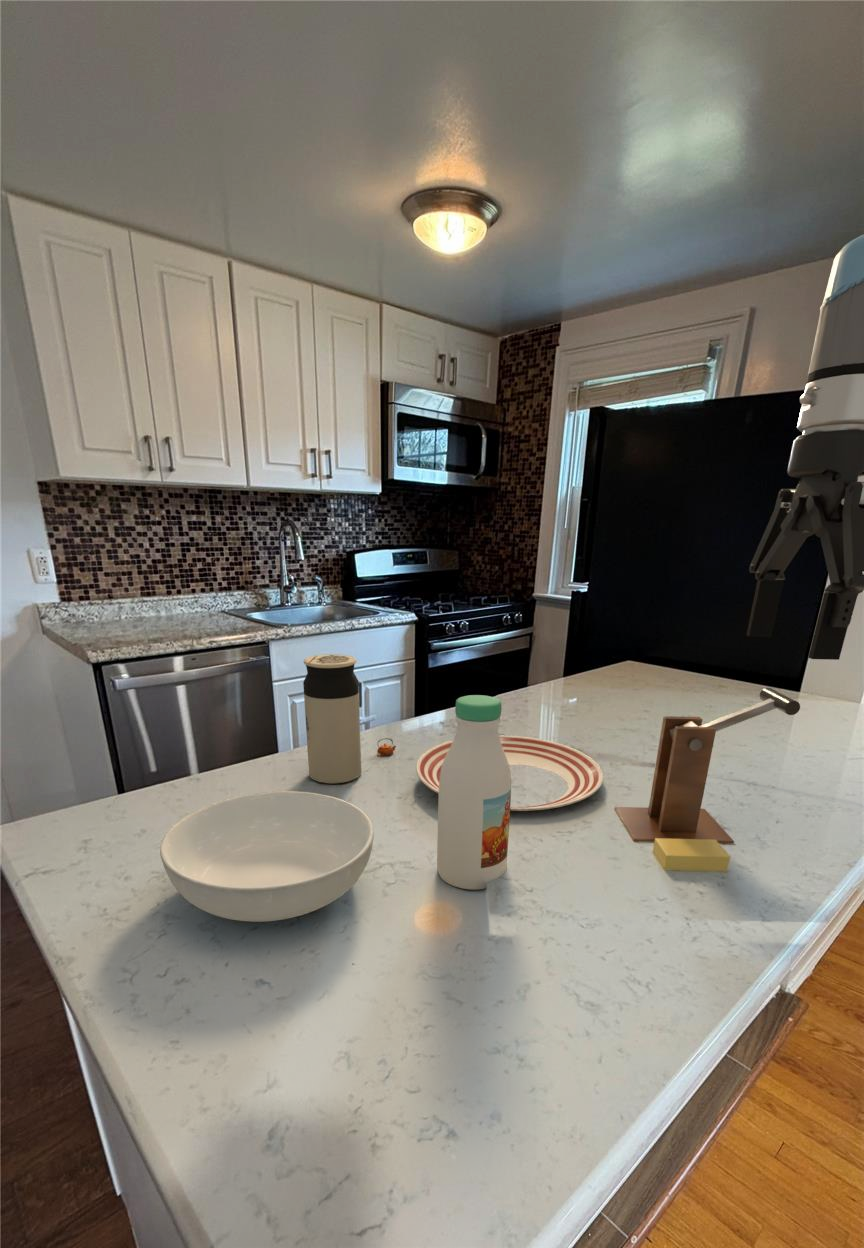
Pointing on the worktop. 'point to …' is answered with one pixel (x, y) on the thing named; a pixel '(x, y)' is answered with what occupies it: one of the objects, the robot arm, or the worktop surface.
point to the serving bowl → (268, 854)
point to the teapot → (385, 749)
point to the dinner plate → (534, 752)
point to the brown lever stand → (677, 788)
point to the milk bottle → (474, 798)
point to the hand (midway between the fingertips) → (788, 646)
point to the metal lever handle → (753, 710)
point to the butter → (691, 854)
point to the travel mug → (332, 718)
